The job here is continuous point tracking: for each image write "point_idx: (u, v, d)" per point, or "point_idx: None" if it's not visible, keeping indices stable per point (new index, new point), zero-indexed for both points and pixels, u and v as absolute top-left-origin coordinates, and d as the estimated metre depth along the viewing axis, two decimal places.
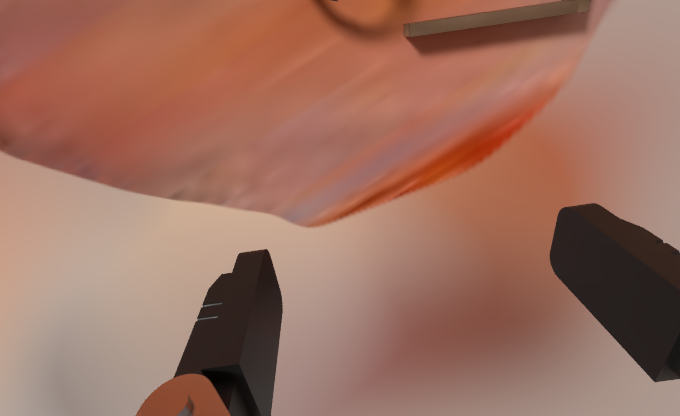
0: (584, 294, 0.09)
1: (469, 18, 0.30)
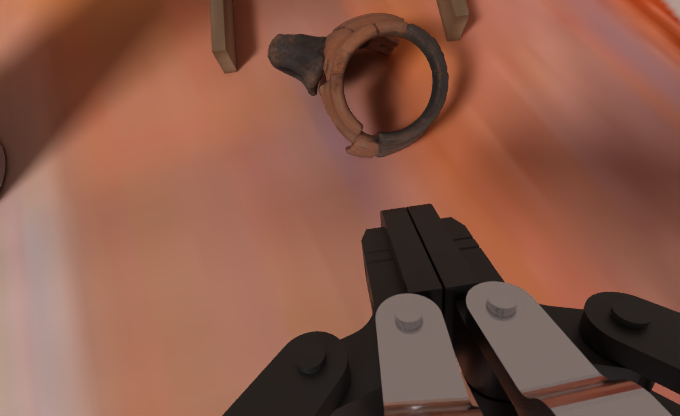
0: None
1: None
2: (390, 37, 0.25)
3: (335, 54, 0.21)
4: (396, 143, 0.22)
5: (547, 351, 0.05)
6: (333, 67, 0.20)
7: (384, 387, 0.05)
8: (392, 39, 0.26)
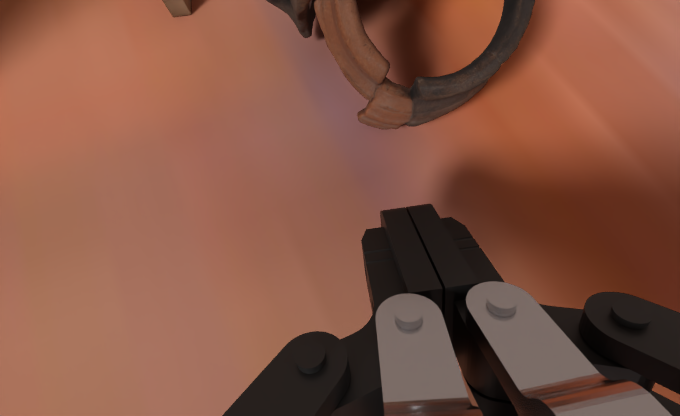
0: None
1: None
2: None
3: None
4: (446, 95, 0.13)
5: (547, 350, 0.05)
6: None
7: (384, 387, 0.05)
8: None
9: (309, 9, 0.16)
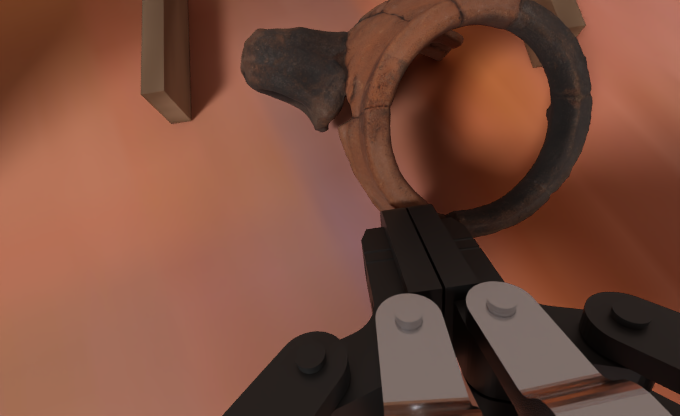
0: None
1: None
2: (449, 31, 0.15)
3: (370, 65, 0.11)
4: (489, 232, 0.11)
5: (548, 350, 0.05)
6: (370, 93, 0.10)
7: (384, 387, 0.05)
8: (453, 35, 0.15)
9: None
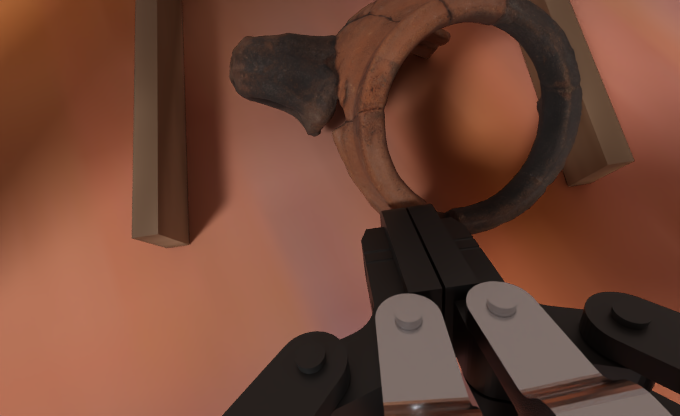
0: None
1: None
2: None
3: (360, 68, 0.10)
4: (489, 228, 0.11)
5: (547, 350, 0.05)
6: (363, 96, 0.10)
7: (384, 387, 0.05)
8: (440, 32, 0.15)
9: None
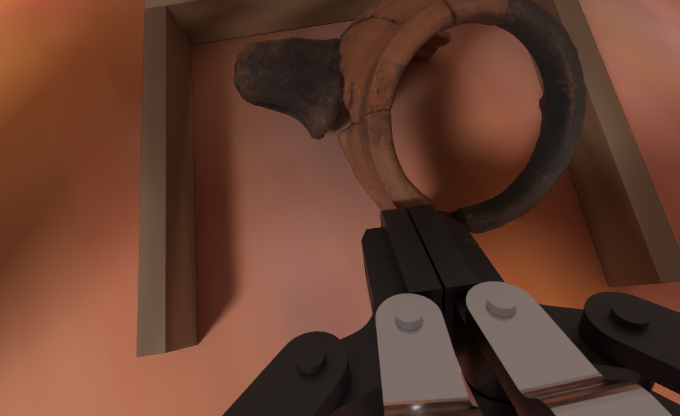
0: None
1: (612, 140, 0.13)
2: None
3: (365, 70, 0.11)
4: (496, 226, 0.11)
5: (547, 350, 0.05)
6: (369, 98, 0.10)
7: (384, 387, 0.05)
8: (440, 33, 0.15)
9: None
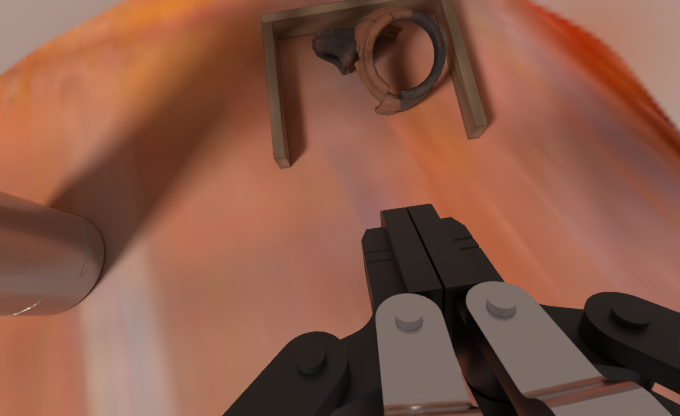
0: None
1: (464, 74, 0.32)
2: (396, 24, 0.34)
3: (364, 38, 0.29)
4: (414, 96, 0.30)
5: (547, 350, 0.05)
6: (365, 46, 0.29)
7: (384, 387, 0.05)
8: (398, 26, 0.34)
9: None
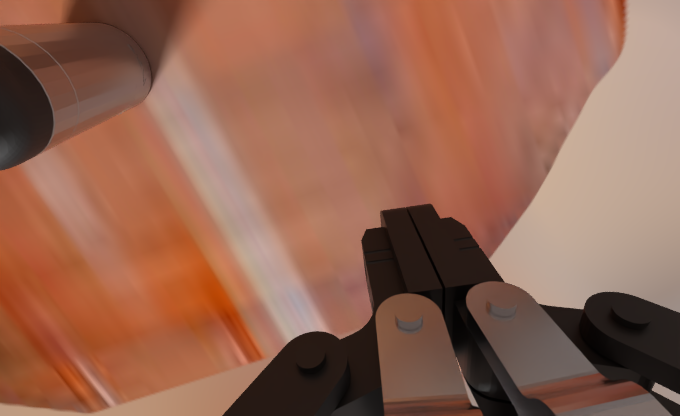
0: None
1: None
2: None
3: None
4: None
5: (547, 350, 0.05)
6: None
7: (384, 387, 0.05)
8: None
9: None
